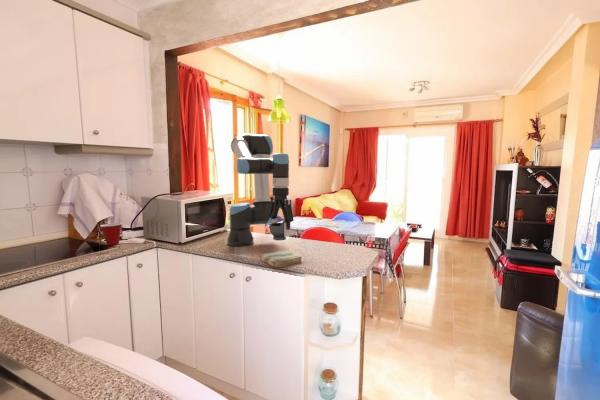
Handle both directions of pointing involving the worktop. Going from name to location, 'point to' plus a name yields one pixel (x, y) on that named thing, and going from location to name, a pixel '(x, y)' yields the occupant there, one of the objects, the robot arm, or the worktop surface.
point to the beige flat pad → (280, 258)
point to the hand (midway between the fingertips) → (280, 234)
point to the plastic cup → (112, 233)
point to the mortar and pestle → (277, 230)
